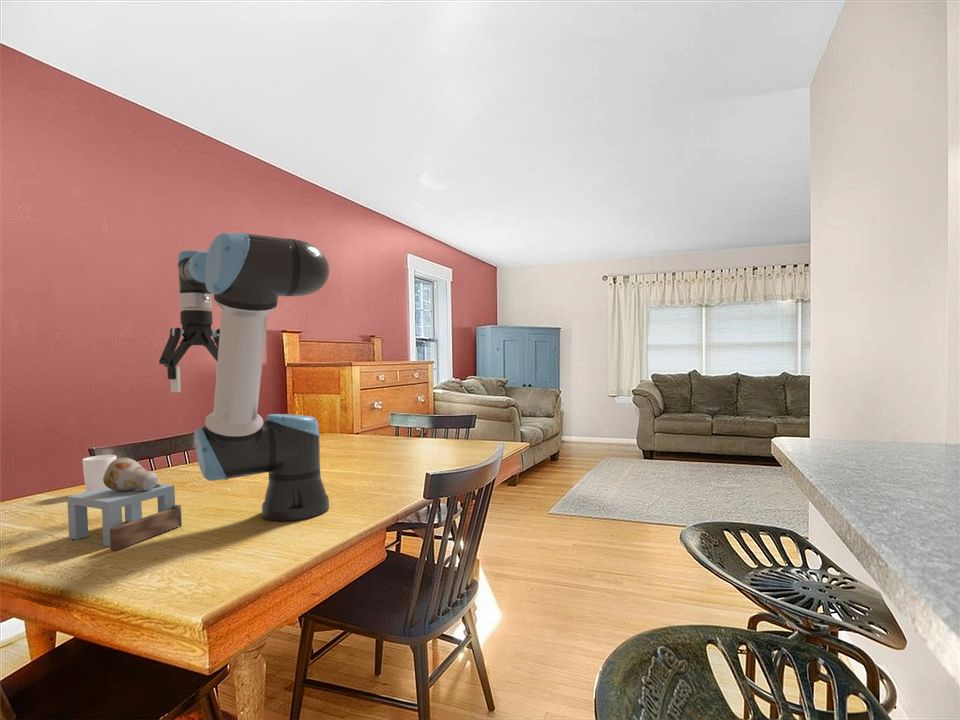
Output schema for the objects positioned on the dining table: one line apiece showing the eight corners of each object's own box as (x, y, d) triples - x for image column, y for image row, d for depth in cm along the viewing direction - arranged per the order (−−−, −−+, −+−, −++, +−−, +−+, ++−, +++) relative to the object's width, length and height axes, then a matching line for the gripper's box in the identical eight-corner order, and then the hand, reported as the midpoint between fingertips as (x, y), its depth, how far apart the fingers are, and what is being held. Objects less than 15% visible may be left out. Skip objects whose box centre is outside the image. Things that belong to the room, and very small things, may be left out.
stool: (176, 525, 119) (174, 485, 119) (111, 547, 107) (109, 502, 106) (135, 518, 125) (133, 480, 125) (69, 538, 112) (67, 496, 112)
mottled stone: (147, 495, 112) (118, 456, 110) (117, 513, 114) (88, 475, 113) (173, 478, 119) (146, 441, 117) (144, 495, 122) (117, 459, 120)
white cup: (122, 490, 152) (121, 456, 152) (91, 497, 146) (89, 461, 146) (110, 487, 157) (109, 453, 157) (78, 494, 150) (77, 458, 150)
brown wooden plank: (177, 525, 119) (176, 504, 119) (183, 525, 119) (182, 505, 119) (110, 550, 105) (109, 526, 105) (117, 551, 104) (116, 527, 104)
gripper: (161, 306, 129) (164, 394, 129) (244, 312, 152) (247, 386, 152) (140, 308, 132) (144, 394, 132) (225, 313, 155) (228, 386, 155)
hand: (199, 390), depth 142 cm, fingers open, 13 cm apart
